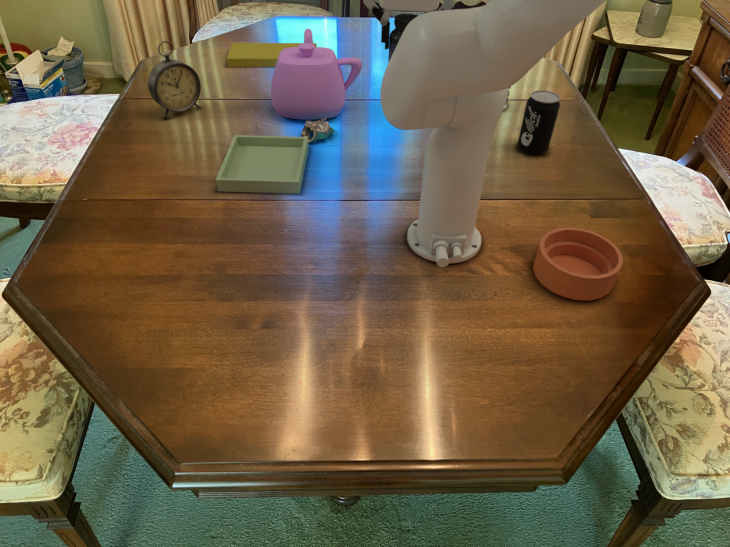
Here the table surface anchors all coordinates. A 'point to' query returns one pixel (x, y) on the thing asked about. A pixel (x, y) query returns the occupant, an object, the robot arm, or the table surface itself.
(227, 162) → the tray
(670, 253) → the table surface
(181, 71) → the alarm clock
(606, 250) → the bowl
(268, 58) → the flat olive board
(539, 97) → the beverage can
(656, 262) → the table surface
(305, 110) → the teapot
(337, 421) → the table surface
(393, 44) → the pill bottle
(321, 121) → the ornament
